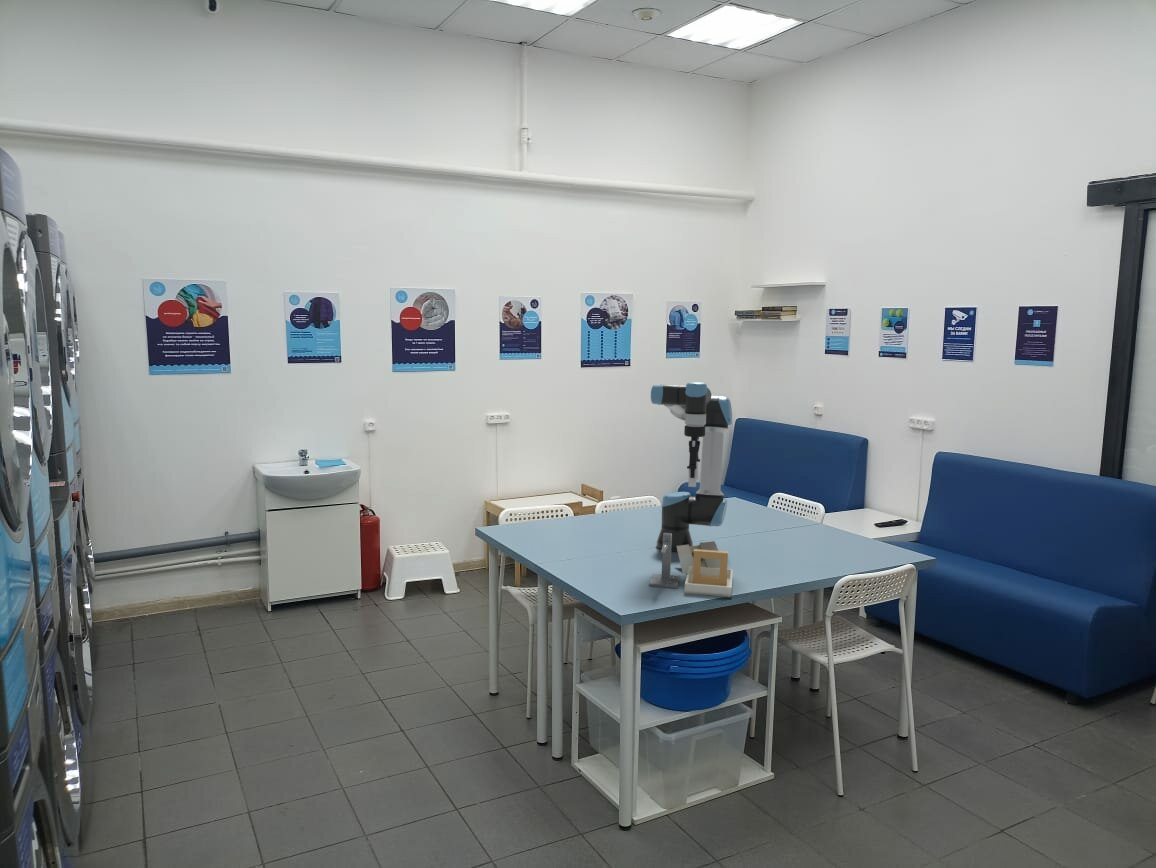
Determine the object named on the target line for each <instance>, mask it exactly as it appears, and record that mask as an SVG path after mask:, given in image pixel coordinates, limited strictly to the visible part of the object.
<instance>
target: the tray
mask: <svg viewBox="0 0 1156 868" xmlns="http://www.w3.org/2000/svg"><path fill="white" fill-rule="evenodd" d="M686 574H687V575H686V578H685V582H684V594H687V595H698V596H709V597H710V596H713V597H721V598H722V597H723V598H732V594H733V593H732V592H733V591H732V590H733V580H734V579H733V577H734V569H730V568H727V585H726V586H720V585H707V584H695V583H693V566H689V570H688V573H686ZM700 575H705V576H718V577H720V568H707V567H701V568H700Z"/></svg>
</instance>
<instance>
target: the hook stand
mask: <svg viewBox="0 0 1156 868" xmlns="http://www.w3.org/2000/svg"><path fill="white" fill-rule="evenodd" d="M671 545H672V533H663V546H662V549H660V553H661V556H662V557H661V573H660V574H659V573H652V575H651V577H650V580H649V582H648V586H649V587H656V588H657V587H658V588H669V589H671V588H672V589H678V587H679V583H680V579H681V575H675V574H671V573H672V572H671V570H672V551H671Z"/></svg>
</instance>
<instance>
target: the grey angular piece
mask: <svg viewBox="0 0 1156 868" xmlns="http://www.w3.org/2000/svg"><path fill="white" fill-rule="evenodd" d="M676 547H677V551H676V552H677V555H678V558H679V563H680V567H681V573H682V574H684V575H686V574H688V570H689V566H693V557H694V549H701V550H715V551H719V549H718V546H717V543H716V541H713V540H712V541H705V542H704V541H703V542H699V545H693V546H689V544H688V545H679V546H676ZM701 567H707V568H720V560H719V559H706V558H701Z"/></svg>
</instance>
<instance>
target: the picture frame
mask: <svg viewBox="0 0 1156 868" xmlns="http://www.w3.org/2000/svg"><path fill="white" fill-rule="evenodd" d="M701 558H706V559H719V560H720V577H718V576H705V575H700V568H701ZM728 558H729V551H728V550H726V551H725V550H724V551H723V550H718V551H715V550H701V549H694V557H693V583H695V584H707V585H720V586H726V585H727V569H728V561H729V559H728Z"/></svg>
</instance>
